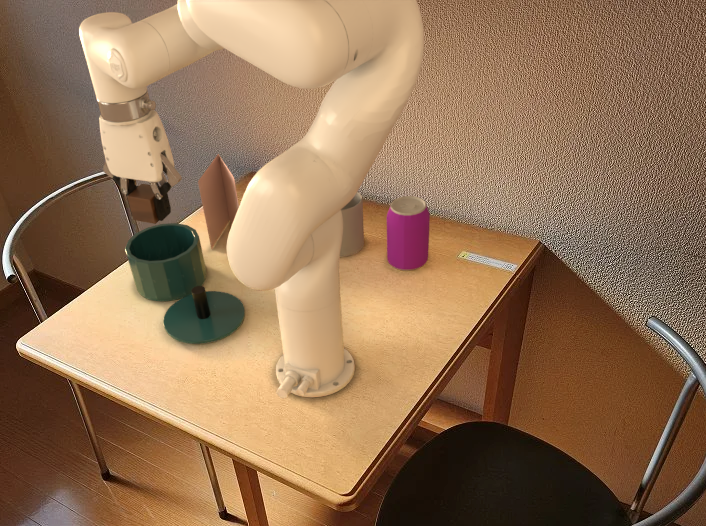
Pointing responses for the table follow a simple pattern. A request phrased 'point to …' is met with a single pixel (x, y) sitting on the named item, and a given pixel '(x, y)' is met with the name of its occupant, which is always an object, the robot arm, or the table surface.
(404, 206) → the beverage can
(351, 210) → the cup
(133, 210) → the block
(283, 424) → the table surface
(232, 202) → the greeting card
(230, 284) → the table surface
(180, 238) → the pot
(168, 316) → the lid
